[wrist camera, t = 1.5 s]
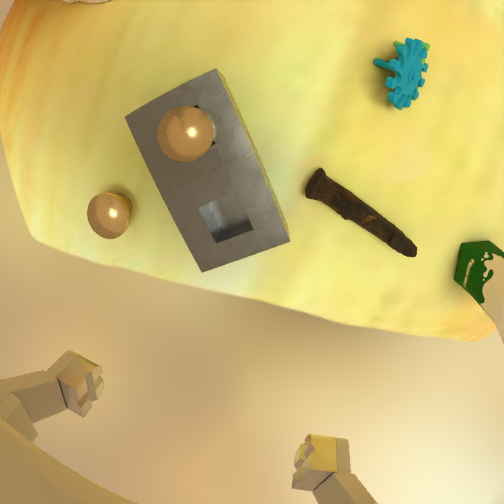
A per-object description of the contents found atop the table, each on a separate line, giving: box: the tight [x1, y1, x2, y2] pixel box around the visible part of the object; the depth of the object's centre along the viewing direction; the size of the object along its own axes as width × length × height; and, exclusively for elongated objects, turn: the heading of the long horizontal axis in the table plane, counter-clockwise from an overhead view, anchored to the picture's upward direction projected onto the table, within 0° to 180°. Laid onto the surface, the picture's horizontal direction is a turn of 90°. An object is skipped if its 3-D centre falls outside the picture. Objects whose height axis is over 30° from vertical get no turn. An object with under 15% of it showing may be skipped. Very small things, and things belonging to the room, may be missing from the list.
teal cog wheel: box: [374, 38, 430, 110], centre depth 28 cm, size 11×6×10 cm
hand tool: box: [306, 168, 417, 257], centre depth 37 cm, size 19×4×5 cm, turn 58°
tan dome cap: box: [87, 192, 132, 239], centre depth 38 cm, size 6×6×5 cm
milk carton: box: [454, 241, 504, 343], centre depth 32 cm, size 9×9×20 cm
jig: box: [125, 69, 290, 272], centre depth 35 cm, size 22×12×6 cm, turn 23°
